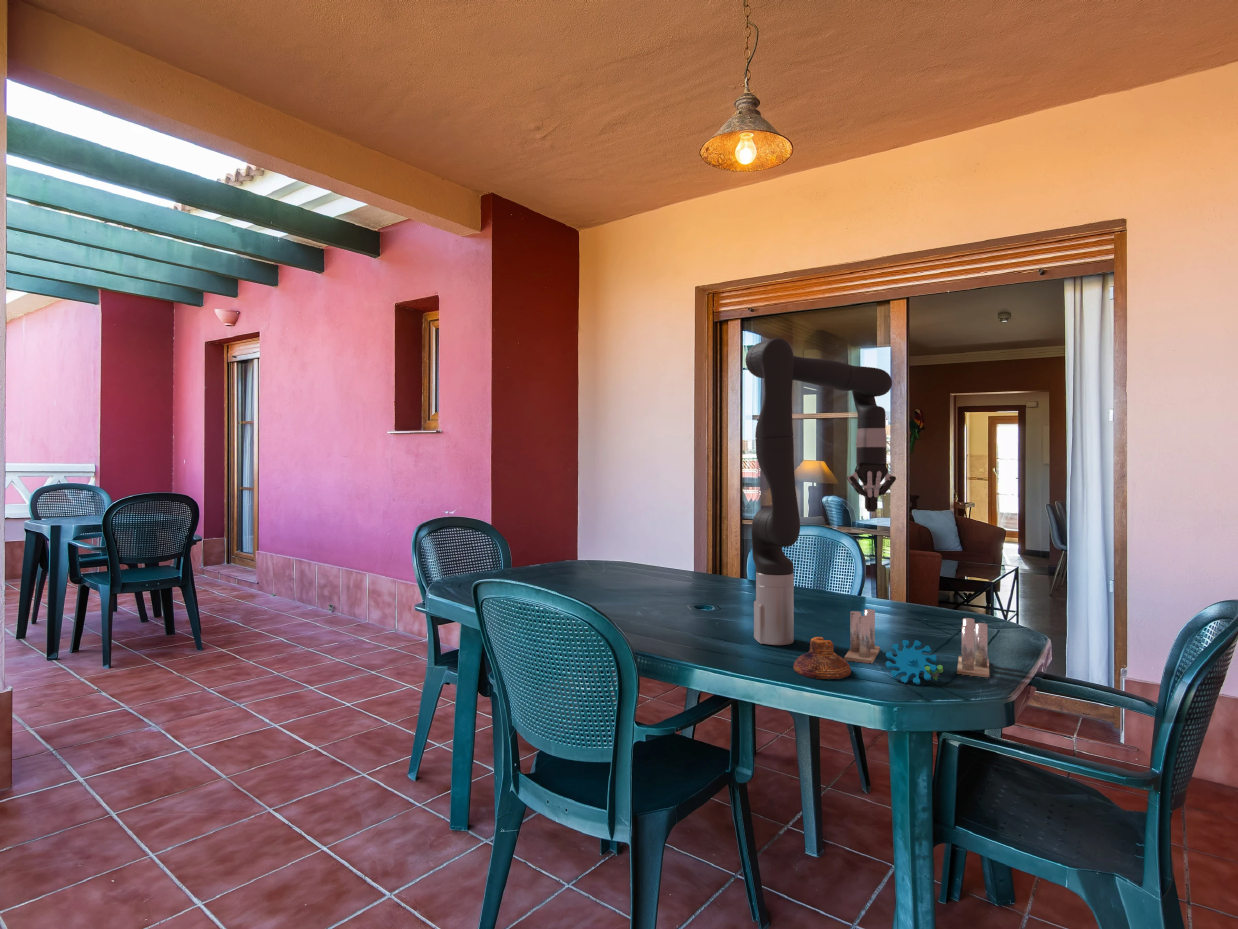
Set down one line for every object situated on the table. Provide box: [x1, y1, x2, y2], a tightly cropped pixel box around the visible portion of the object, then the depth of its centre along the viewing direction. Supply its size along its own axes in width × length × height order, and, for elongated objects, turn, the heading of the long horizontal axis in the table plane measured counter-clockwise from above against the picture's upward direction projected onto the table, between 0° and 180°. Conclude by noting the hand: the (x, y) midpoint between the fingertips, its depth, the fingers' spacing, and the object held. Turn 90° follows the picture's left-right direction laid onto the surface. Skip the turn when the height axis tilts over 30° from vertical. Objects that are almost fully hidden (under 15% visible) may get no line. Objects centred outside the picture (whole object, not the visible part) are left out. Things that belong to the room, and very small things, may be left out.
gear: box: [885, 639, 944, 685], centre depth 144 cm, size 11×6×10 cm
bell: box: [792, 636, 852, 680], centre depth 149 cm, size 12×12×7 cm
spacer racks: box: [843, 645, 990, 678], centre depth 156 cm, size 13×29×1 cm, turn 62°
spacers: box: [849, 608, 988, 671], centre depth 156 cm, size 10×28×9 cm, turn 62°
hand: (871, 511), depth 184 cm, fingers closed
